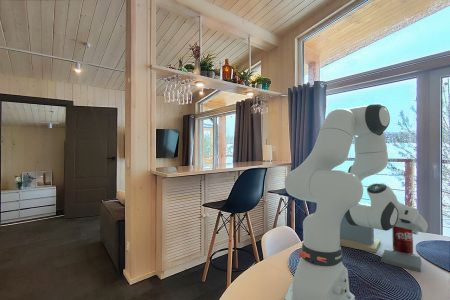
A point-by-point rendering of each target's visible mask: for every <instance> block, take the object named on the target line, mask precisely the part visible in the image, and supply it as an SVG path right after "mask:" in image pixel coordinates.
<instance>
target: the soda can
mask: <svg viewBox="0 0 450 300" xmlns="http://www.w3.org/2000/svg"><path fill="white" fill-rule="evenodd" d="M391 231H392V232H391V233H392V234H391V235H392V237H391V238H392V239H391V240H392V249H393V251H394V252H399V253H404V254H408V255H412V254H414V234H413V233H412V230H410V229H405V228H401V227H396V226H394V227H393V228H392V229H391Z"/></svg>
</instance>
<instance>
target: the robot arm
mask: <svg viewBox="0 0 450 300" xmlns="http://www.w3.org/2000/svg"><path fill="white" fill-rule="evenodd" d="M390 115H391V114H390V112H389V110H388V108H387V107H386V106H385V105H383V104H382V103H370V104H368V105H362V106H361V105H360V106H355V107H354V106H353V107H350V108H342V107H341V108H339V107H338V108H335V109H333V110H331V111H329V112H328V114H327V116H326V117H325V119H324V121H323V123H322V124H321V127H320V129H319V132H318V135H317V138H316V140H315V143H314V146H313V148H312V150H311V152H310V153H309V155H308V156H307V157H306V158H305V160H304V161H303V162H302V163H301V164H299V166H297V167H296V168H294V169H293V170H290V171H289V172H288V173H287V175H286V176H285V178H284V189H285V191H286V193H287V194H288V195H289V196H290V197H293V198H295V199H297V200H300V201H306V202H312V203H316V209H315V212H313V213H310V214H309V215H307V216H306V217H305V218H304V219H303V221H302V230H303V231H302V236H303V238H302V239H303V242H302V246H301V250H299V251H298V257H299V258H300V259H299V262H298V264H297V266H296V270H295V273H294V275H293V279H292V281H291V284H290V285H289V287H288V289H287V292H286V293H285V296H284V300H356V296H355V295H354V294H353V293H352V292H351V291H350V285H349V284H350V283H349V273H348V269H347V267H346V266H345V265H344V264H343V251H342V246H341V245H340V225H341V221H342V218H343V216H344V218H345V219H346V221H347V222H348V223H349V224H350V225H353V226H363V227H368V228H373V229H374V230H381V231H385V232H386V231H390V230H392V228H393V227H394V226H396V227H401V228H405V229H410V230H412V233H413V235H416V236H417V235H418V234H419V233H424V234H425V233H426V232H428V227H429V224H428V222H427V221H426V219H425V218H424V217H423V216H422V214H420V212H419V210H418V209H417V208H415V207H412V206H409V205H407V204H404V203H402V202H400V201H399V200H398V198H397V195H396V194H395V192H394V191H393V189H392V188H391V187H390V186H389V185H387V184H386V183H383V182H373V183H372V184H369V185H368V186H367V187H366V192H367V195H368V197H369V199H370V203H366V202H361V200H362V199H363V194H364V186H363V183H362V181H363V180H364V179H365V178H368V177H371V176H373V175H377V174H379V173H381V172H382V171H384V169H385V168H386V167H387V165H388V162H389V155H388V154H389V153H388V147H387V142H386V137H385V134H384V132H385V131H386V130H387V129H388V128H389V125H390V122H391V116H390ZM353 139H354V161H353V164H352V165H350V166H349V168H348V171H344V170H335V168H337V167H338V166H340V165H342V164H344V163H345V162H346V161H347V159H348V156H349V153H350V149H351V147H352V142H353Z"/></svg>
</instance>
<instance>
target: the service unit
mask: <svg viewBox="0 0 450 300" xmlns="http://www.w3.org/2000/svg"><path fill="white" fill-rule="evenodd" d="M374 231H375V229H373V228H368V227H363V226H353V225H350V224H349V223H348V222H347V221H346V219H345V218H344V216H343V218H342V221H341V225H340V246H344V247H348V248H353V249H358V250H362V251H367V252H371V253H377V252H378V249H379V247H380V244H381V239H378V238H375V232H374Z"/></svg>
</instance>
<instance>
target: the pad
mask: <svg viewBox="0 0 450 300" xmlns="http://www.w3.org/2000/svg"><path fill="white" fill-rule="evenodd" d="M380 262H381V263H383V262H384V263H383V264H388V265H392V266H395V267H400V268H402V269H403V268H404V269H408V270H413V271H417V272H421V256H418V255H412V254H404V253H399V252H396V251H395V250H393V251H392V250H388V249H384V250H383V253H382V255H381V258H380Z"/></svg>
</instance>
